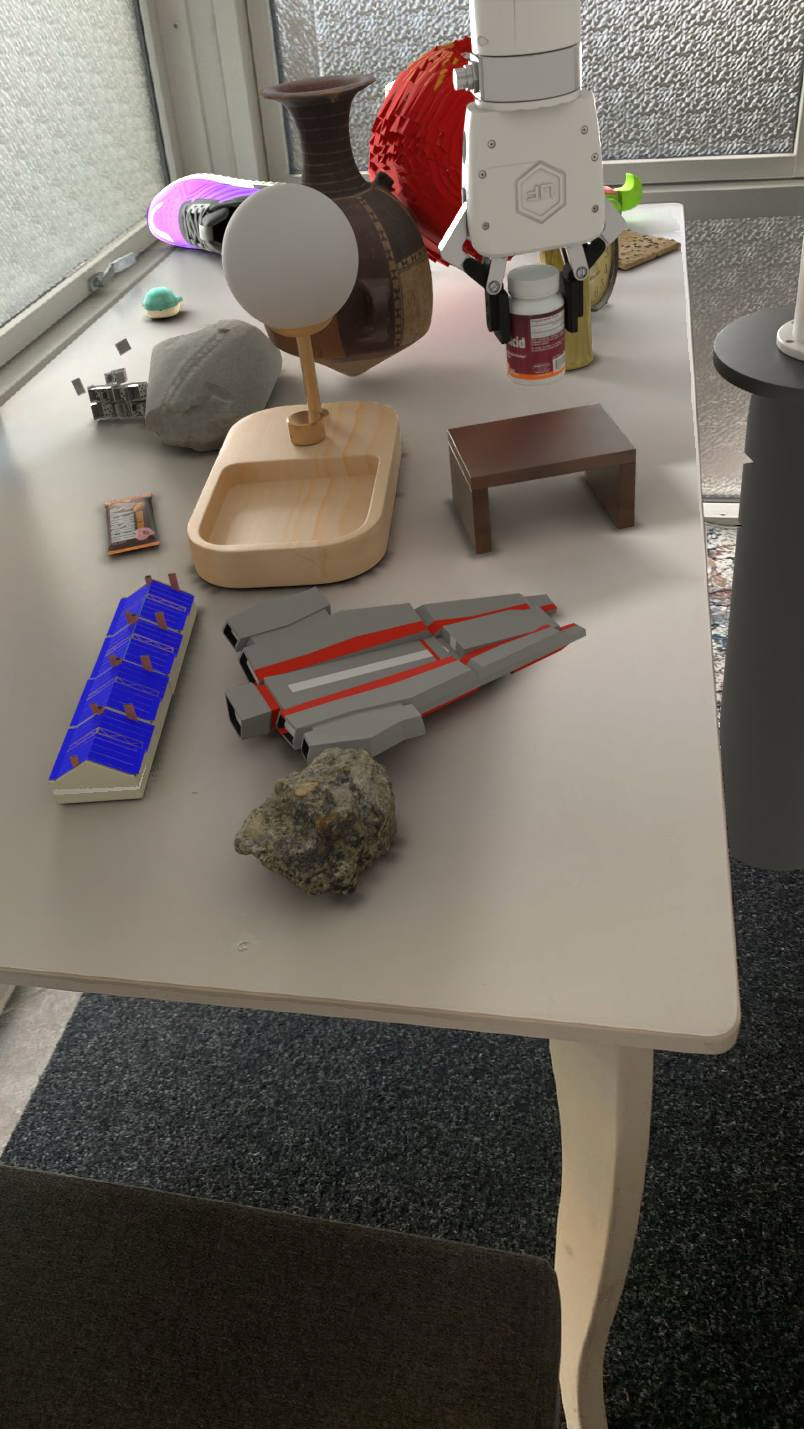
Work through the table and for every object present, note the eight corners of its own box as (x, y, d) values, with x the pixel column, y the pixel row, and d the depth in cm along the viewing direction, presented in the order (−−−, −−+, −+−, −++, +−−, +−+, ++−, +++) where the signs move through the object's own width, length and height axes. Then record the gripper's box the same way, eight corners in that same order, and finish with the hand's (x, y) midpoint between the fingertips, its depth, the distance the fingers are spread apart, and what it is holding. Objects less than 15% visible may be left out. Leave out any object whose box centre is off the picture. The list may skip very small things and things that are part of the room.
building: (145, 800, 75) (130, 755, 72) (56, 805, 75) (39, 762, 73) (199, 611, 93) (188, 570, 90) (127, 617, 93) (114, 576, 91)
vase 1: (435, 407, 120) (407, 94, 101) (259, 420, 122) (200, 116, 104) (443, 331, 138) (420, 52, 119) (289, 343, 140) (243, 72, 121)
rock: (232, 913, 67) (274, 785, 74) (377, 928, 65) (407, 796, 72) (212, 858, 63) (259, 727, 69) (366, 872, 61) (399, 738, 68)
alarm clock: (581, 334, 132) (580, 188, 122) (540, 329, 135) (536, 185, 125) (621, 303, 139) (623, 162, 129) (581, 299, 141) (581, 160, 131)
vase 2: (569, 346, 130) (567, 217, 121) (605, 359, 126) (606, 226, 117) (528, 361, 128) (523, 231, 119) (563, 375, 123) (561, 241, 115)
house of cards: (61, 344, 124) (101, 333, 130) (81, 422, 128) (119, 408, 134) (129, 337, 121) (166, 326, 127) (147, 418, 124) (182, 404, 131)
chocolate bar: (161, 548, 102) (159, 540, 102) (107, 559, 101) (105, 551, 101) (153, 495, 111) (151, 488, 110) (104, 505, 110) (102, 498, 109)
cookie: (625, 271, 149) (626, 263, 148) (558, 255, 156) (558, 248, 155) (683, 247, 154) (683, 239, 154) (615, 232, 162) (615, 225, 161)
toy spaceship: (504, 539, 91) (500, 592, 94) (188, 610, 82) (194, 666, 85) (643, 659, 77) (633, 717, 80) (281, 761, 68) (285, 822, 71)
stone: (155, 302, 132) (283, 307, 133) (159, 355, 136) (283, 359, 137) (126, 406, 112) (276, 411, 114) (133, 464, 117) (277, 468, 118)
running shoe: (151, 177, 179) (101, 203, 169) (313, 163, 168) (271, 189, 158) (169, 246, 185) (122, 275, 175) (327, 237, 174) (287, 267, 164)
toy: (580, 129, 141) (650, 103, 114) (482, 300, 148) (526, 313, 120) (424, 18, 135) (459, -38, 107) (330, 202, 142) (340, 193, 114)
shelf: (599, 476, 104) (599, 402, 100) (634, 526, 96) (636, 449, 92) (453, 501, 103) (446, 428, 99) (476, 554, 95) (470, 477, 91)
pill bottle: (498, 373, 93) (492, 270, 88) (550, 360, 94) (547, 258, 89) (521, 392, 90) (517, 286, 85) (575, 379, 91) (574, 273, 85)
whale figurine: (141, 323, 153) (134, 295, 150) (147, 306, 158) (140, 278, 156) (183, 318, 153) (176, 290, 150) (188, 300, 158) (182, 273, 156)
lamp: (382, 582, 93) (340, 273, 77) (182, 593, 95) (101, 294, 80) (408, 416, 119) (380, 159, 103) (250, 428, 121) (199, 177, 105)
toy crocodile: (516, 240, 163) (514, 195, 159) (506, 230, 168) (505, 187, 165) (648, 222, 164) (649, 177, 160) (634, 213, 169) (635, 169, 166)
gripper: (418, 104, 75) (440, 367, 86) (662, 67, 76) (653, 331, 87) (400, 86, 81) (423, 334, 92) (626, 52, 82) (622, 301, 93)
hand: (535, 330), depth 90 cm, fingers closed on pill bottle, 4 cm apart
